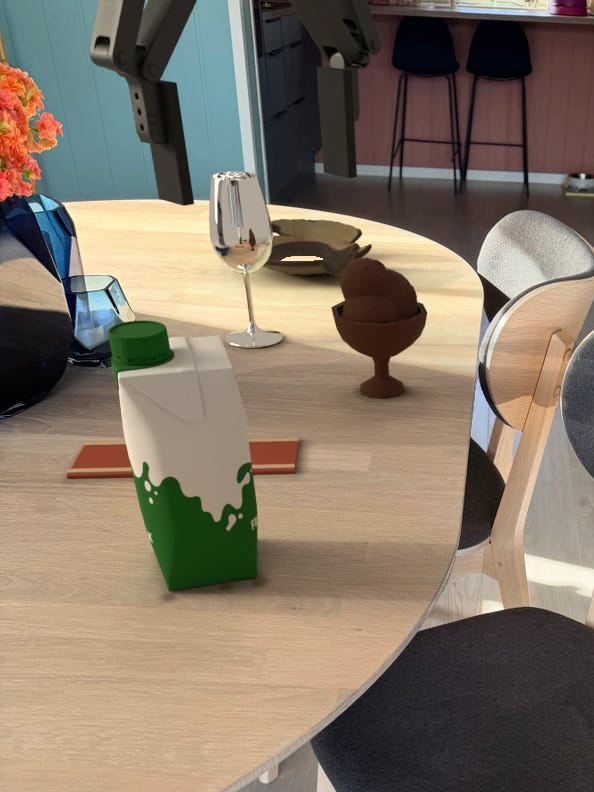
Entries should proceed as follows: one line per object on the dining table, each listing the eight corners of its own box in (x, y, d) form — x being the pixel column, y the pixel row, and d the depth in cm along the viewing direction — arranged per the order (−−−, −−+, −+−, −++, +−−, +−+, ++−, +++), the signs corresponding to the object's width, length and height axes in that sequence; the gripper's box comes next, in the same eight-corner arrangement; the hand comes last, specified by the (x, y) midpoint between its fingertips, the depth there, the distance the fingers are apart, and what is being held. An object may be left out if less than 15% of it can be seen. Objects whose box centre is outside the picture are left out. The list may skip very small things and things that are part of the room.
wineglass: (212, 340, 124) (187, 176, 112) (254, 326, 129) (235, 167, 118) (253, 353, 121) (232, 184, 109) (295, 337, 126) (280, 175, 114)
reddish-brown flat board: (67, 478, 91) (65, 474, 91) (87, 444, 97) (86, 440, 97) (294, 473, 93) (294, 469, 93) (299, 439, 99) (299, 435, 99)
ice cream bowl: (381, 415, 105) (375, 277, 96) (318, 389, 111) (307, 257, 102) (446, 390, 111) (446, 259, 103) (383, 367, 117) (378, 241, 109)
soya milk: (150, 546, 81) (100, 313, 69) (255, 531, 83) (224, 303, 71) (158, 600, 74) (103, 351, 62) (271, 581, 77) (240, 339, 65)
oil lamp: (359, 247, 166) (357, 200, 161) (388, 295, 143) (386, 242, 138) (231, 252, 161) (225, 204, 157) (240, 303, 138) (233, 248, 133)
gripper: (30, -300, 40) (128, 226, 53) (431, -220, 55) (433, 172, 68) (-49, -281, 44) (60, 204, 57) (346, -211, 59) (363, 158, 72)
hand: (263, 188), depth 62 cm, fingers open, 13 cm apart
